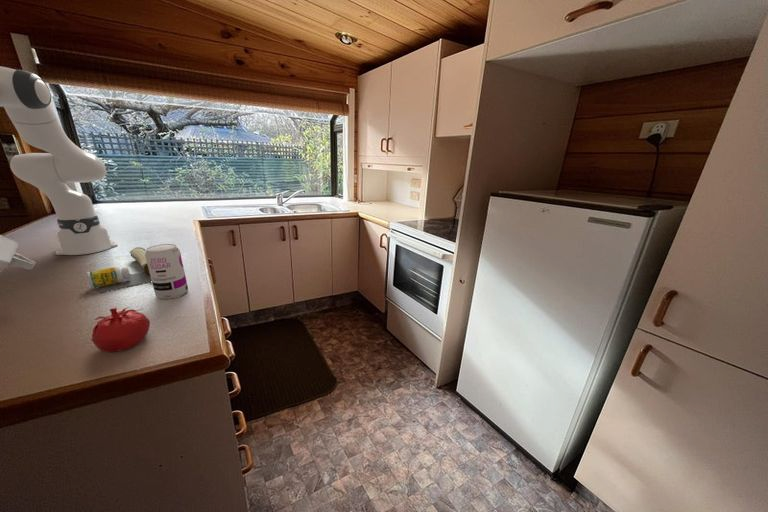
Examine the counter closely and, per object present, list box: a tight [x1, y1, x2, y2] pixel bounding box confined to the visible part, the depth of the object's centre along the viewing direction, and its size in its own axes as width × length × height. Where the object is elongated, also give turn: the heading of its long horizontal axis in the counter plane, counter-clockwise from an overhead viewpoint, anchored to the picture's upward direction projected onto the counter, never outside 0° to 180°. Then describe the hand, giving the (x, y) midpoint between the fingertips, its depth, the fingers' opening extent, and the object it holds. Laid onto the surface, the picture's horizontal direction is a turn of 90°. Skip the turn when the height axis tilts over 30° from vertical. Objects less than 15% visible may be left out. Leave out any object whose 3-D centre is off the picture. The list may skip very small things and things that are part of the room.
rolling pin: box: [128, 247, 150, 276], centre depth 107 cm, size 32×6×5 cm, turn 47°
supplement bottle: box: [86, 266, 131, 290], centre depth 93 cm, size 5×5×10 cm
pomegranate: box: [91, 307, 151, 353], centre depth 66 cm, size 10×10×9 cm
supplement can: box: [145, 243, 189, 300], centre depth 87 cm, size 8×8×15 cm
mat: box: [97, 271, 152, 294], centre depth 98 cm, size 11×18×1 cm, turn 135°
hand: (33, 266), depth 82 cm, fingers closed
